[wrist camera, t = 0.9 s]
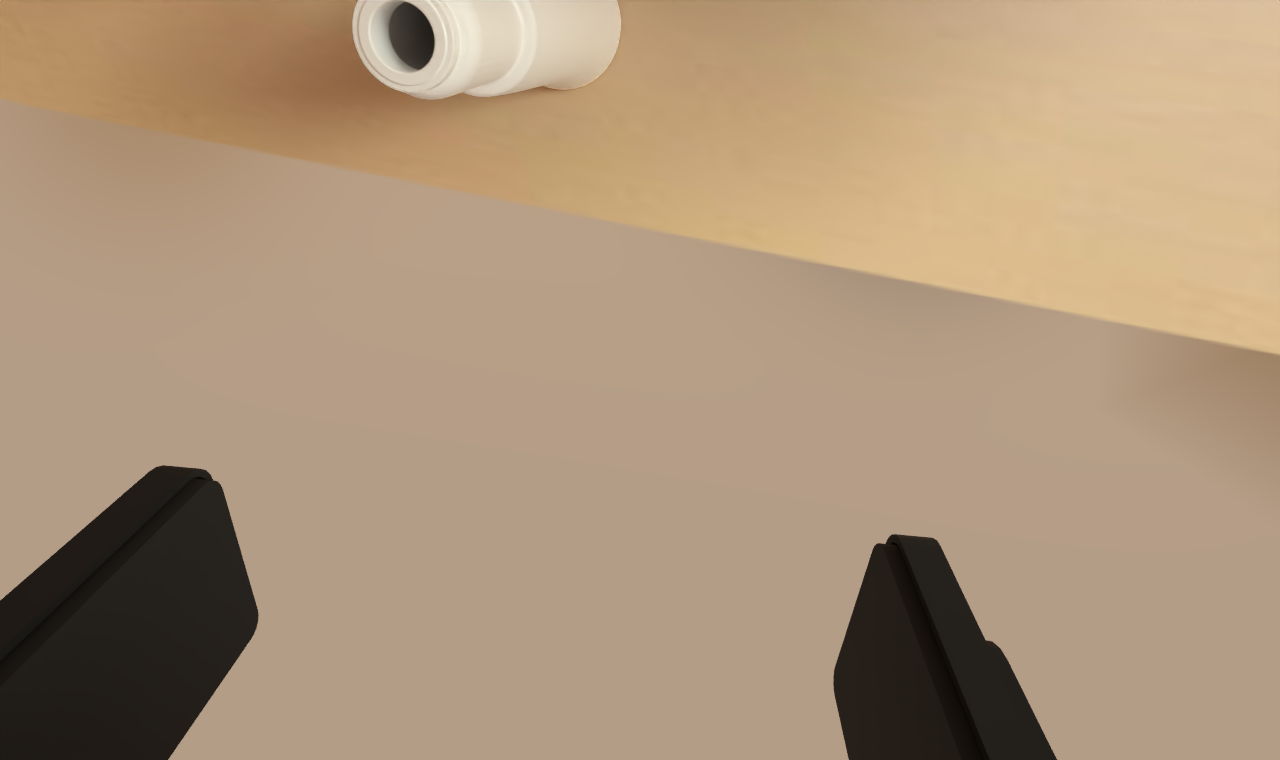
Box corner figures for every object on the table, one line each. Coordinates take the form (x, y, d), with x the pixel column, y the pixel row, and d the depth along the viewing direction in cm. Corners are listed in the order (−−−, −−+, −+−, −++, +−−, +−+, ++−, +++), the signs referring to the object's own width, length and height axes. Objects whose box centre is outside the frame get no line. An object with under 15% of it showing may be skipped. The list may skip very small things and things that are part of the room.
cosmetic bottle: (609, 100, 35) (524, 206, 16) (495, 75, 35) (268, 150, 16) (631, -32, 32) (561, -99, 13) (507, -61, 32) (248, -175, 13)
